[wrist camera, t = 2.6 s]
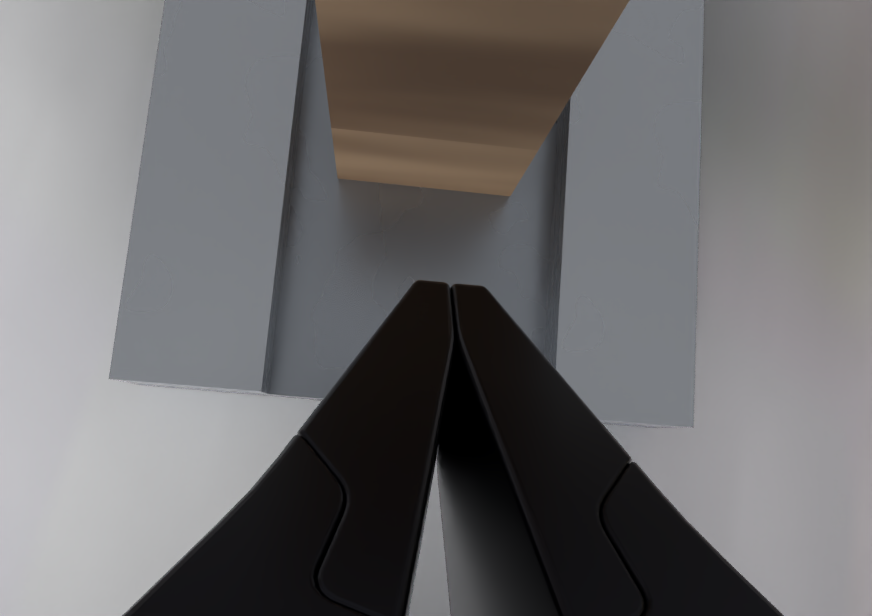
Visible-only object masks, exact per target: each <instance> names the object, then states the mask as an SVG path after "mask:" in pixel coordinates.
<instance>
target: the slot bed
mask: <svg viewBox="0 0 872 616" xmlns="http://www.w3.org/2000/svg"><path fill="white" fill-rule="evenodd" d="M703 32H704V0H629V2H628V4H627V5H626V7H625V9H624V10H623V12H622V14H621V15H620V17H619V18H618V20H617V22H616V23H615V25H614V27H613V28H612V30H611V32H610V33H609V35H608V37H607V38H606V40H605V41H604V43H603V45H602V46H601V48H600V50H599V51H598V53H597V55H596V56H595V58H594V60H593V61H592V63H591V65H590V66H589V68H588V69H587V71H586V73H585V74H584V76H583V78H582V79H581V81H580V83H579V84H578V86H577V88H576V89H575V91H574V92H573V94H572V96H571V97H570V99H569V101H568V102H567V104H566V106H565V107H564V109H563V111H562V112H561V114H560V115H559V117H558V119H557V120H556V122H555V124H554V125H553V127H552V129H551V130H550V132H549V134H548V135H547V137H546V138H545V140H544V142H543V143H542V145H541V147H540V148H539V150H538V152H537V153H536V155H535V157H534V158H533V160H532V161H531V163H530V165H529V166H528V168H527V170H526V171H525V173H524V175H523V176H522V178H521V180H520V181H519V183H518V184H517V186H516V188H515V189H514V191H513V193H512V194H511V196H502V195H492V194H483V193H473V192H463V191H454V190H444V189H434V188H425V187H415V186H406V185H396V184H386V183H377V182H367V181H357V180H348V179H338V178H337V170H336V162H335V154H334V146H333V138H332V130H331V122H330V114H329V107H328V99H327V91H326V83H325V75H324V67H323V59H322V51H321V43H320V36H319V28H318V20H317V12H316V4H315V0H165V3H164V10H163V16H162V23H161V30H160V37H159V43H158V50H157V57H156V64H155V70H154V77H153V84H152V91H151V97H150V104H149V111H148V118H147V124H146V131H145V138H144V145H143V152H142V158H141V165H140V172H139V179H138V185H137V192H136V199H135V206H134V212H133V219H132V226H131V233H130V239H129V246H128V253H127V260H126V266H125V273H124V280H123V287H122V293H121V300H120V307H119V314H118V320H117V327H116V334H115V341H114V347H113V354H112V361H111V368H110V374H109V379H113V380H118V381H123V382H128V383H134V384H139V385H148V386H160V387H172V388H185V389H197V390H209V391H221V392H233V393H245V394H257V395H269V396H281V397H293V398H305V399H317V400H323V399H324V398H325V396H326V395H327V394H328V392H329V391H330V390H331V389H332V387H333V386H334V385H335V383H336V382H337V381H338V380H339V378H340V377H341V376H342V374H343V373H344V372H345V371H346V369H347V368H348V367H349V365H350V364H351V363H352V362H353V360H354V359H355V358H356V356H357V355H358V354H359V353H360V351H361V350H362V349H363V347H364V346H365V345H366V344H367V342H368V341H369V340H370V338H371V337H372V336H373V335H374V333H375V332H376V331H377V329H378V328H379V327H380V325H381V324H382V323H383V322H384V320H385V319H386V318H387V316H388V315H389V314H390V313H391V311H392V310H393V309H394V307H395V306H396V305H397V304H398V302H399V301H400V300H401V298H402V297H403V296H404V295H405V293H406V292H407V291H408V289H409V288H410V287H411V286H412V284H413V283H414V282H415V281H417V280H427V281H437V282H445V283H447V284H449V286H450V288H451V286H452V285H453V284H469V285H480V286H484V287H486V288H487V289H488V290H489V291H490V292H491V294H492V295H493V296H494V297H495V298H496V299H497V301H498V302H499V303H500V304H501V305H502V307H503V308H504V309H505V310H506V311H507V312H508V314H509V315H510V316H511V317H512V318H513V319H514V321H515V322H516V323H517V324H518V325H519V326H520V328H521V329H522V330H523V331H524V332H525V334H526V335H527V336H528V337H529V338H530V339H531V341H532V342H533V343H534V344H535V345H536V346H537V348H538V349H539V350H540V351H541V352H542V353H543V355H544V356H545V357H546V358H547V359H548V361H549V362H550V363H551V364H552V365H553V366H554V368H555V369H556V370H557V371H558V372H559V373H560V375H561V376H562V377H563V378H564V379H565V381H566V382H567V383H568V384H569V385H570V386H571V388H572V389H573V390H574V391H575V392H576V393H577V395H578V396H579V397H580V398H581V399H582V400H583V402H584V403H585V404H586V405H587V406H588V408H589V409H590V410H591V411H592V412H593V413H594V415H595V416H596V417H597V418H598V419H599V420H600V422H601V423H606V424H618V425H630V426H642V427H655V428H679V427H694V389H695V349H696V310H697V270H698V230H699V191H700V151H701V112H702V72H703Z"/></svg>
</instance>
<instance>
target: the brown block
mask: <svg viewBox="0 0 872 616" xmlns="http://www.w3.org/2000/svg"><path fill="white" fill-rule="evenodd" d="M628 2H629V0H315V4H316V12H317V20H318V28H319V36H320V43H321V51H322V59H323V67H324V75H325V83H326V91H327V99H328V107H329V114H330V122H331V130H332V138H333V146H334V154H335V162H336V170H337V178H338V179H348V180H357V181H367V182H377V183H386V184H396V185H406V186H415V187H425V188H434V189H444V190H454V191H463V192H473V193H483V194H492V195H502V196H511V194H512V193H513V191H514V189H515V188H516V186H517V184H518V183H519V181H520V180H521V178H522V176H523V175H524V173H525V171H526V170H527V168H528V166H529V165H530V163H531V161H532V160H533V158H534V157H535V155H536V153H537V152H538V150H539V148H540V147H541V145H542V143H543V142H544V140H545V138H546V137H547V135H548V134H549V132H550V130H551V129H552V127H553V125H554V124H555V122H556V120H557V119H558V117H559V115H560V114H561V112H562V111H563V109H564V107H565V106H566V104H567V102H568V101H569V99H570V97H571V96H572V94H573V92H574V91H575V89H576V88H577V86H578V84H579V83H580V81H581V79H582V78H583V76H584V74H585V73H586V71H587V69H588V68H589V66H590V65H591V63H592V61H593V60H594V58H595V56H596V55H597V53H598V51H599V50H600V48H601V46H602V45H603V43H604V41H605V40H606V38H607V37H608V35H609V33H610V32H611V30H612V28H613V27H614V25H615V23H616V22H617V20H618V18H619V17H620V15H621V14H622V12H623V10H624V9H625V7H626V5H627V4H628Z"/></svg>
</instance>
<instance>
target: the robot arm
mask: <svg viewBox="0 0 872 616" xmlns="http://www.w3.org/2000/svg"><path fill="white" fill-rule="evenodd" d="M436 456H437V473H438V486H439V497H440V507H441V518H442V528H443V539H444V549H445V559H446V570H447V580H448V591H449V601H450V612H451V616H784V615H783V614H781V613H780V612H779V611H778V610H777V609H776V608H775V607H774V606H773V605H772V604H771V603H770V602H769V601H768V600H767V599H766V598H765V597H764V596H763V595H762V594H761V593H760V592H759V591H758V590H757V589H756V588H755V587H753V586H752V585H751V584H750V583H749V582H748V581H747V580H746V579H745V578H744V577H743V576H742V575H741V574H740V573H739V572H738V571H737V570H736V569H735V568H734V567H733V566H732V565H731V564H730V563H729V562H728V561H726V560H725V559H724V558H723V557H722V556H721V555H720V553H719V552H718V551H717V550H716V549H715V548H714V547H713V546H712V545H711V544H710V543H709V542H708V541H707V540H706V539H705V538H704V537H703V536H702V535H701V534H700V533H699V532H698V531H697V530H696V529H695V528H694V527H693V526H692V525H691V524H690V523H689V522H688V521H687V520H686V519H685V518H684V517H683V516H682V515H681V514H680V512H679V511H678V510H677V509H676V508H675V507H674V506H673V505H672V504H671V502H670V501H669V500H668V499H667V498H666V497H665V496H664V495H663V494H662V492H661V491H660V490H659V489H658V488H657V487H656V486H655V485H654V483H653V482H652V481H651V480H650V479H649V478H648V476H647V475H646V474H645V473H644V472H643V471H642V469H641V468H640V467H639V466H638V465H637V464H636V463H635V462H631V457H630V456H629V455H628V453H627V452H626V451H625V450H624V449H623V447H622V446H621V445H620V444H619V443H618V442H617V440H616V439H615V438H614V437H613V436H612V435H611V433H610V432H609V431H608V430H607V429H606V427H605V426H604V425H603V424H602V423H601V422H600V420H599V419H598V418H597V417H596V416H595V415H594V413H593V412H592V411H591V410H590V409H589V408H588V406H587V405H586V404H585V403H584V402H583V400H582V399H581V398H580V397H579V396H578V395H577V393H576V392H575V391H574V390H573V389H572V388H571V386H570V385H569V384H568V383H567V382H566V381H565V379H564V378H563V377H562V376H561V375H560V373H559V372H558V371H557V370H556V369H555V368H554V366H553V365H552V364H551V363H550V362H549V361H548V359H547V358H546V357H545V356H544V355H543V353H542V352H541V351H540V350H539V349H538V348H537V346H536V345H535V344H534V343H533V342H532V341H531V339H530V338H529V337H528V336H527V335H526V334H525V332H524V331H523V330H522V329H521V328H520V326H519V325H518V324H517V323H516V322H515V321H514V319H513V318H512V317H511V316H510V315H509V314H508V312H507V311H506V310H505V309H504V308H503V307H502V305H501V304H500V303H499V302H498V301H497V299H496V298H495V297H494V296H493V295H492V294H491V292H490V291H489V290H488V289H487V288H486V287H484V286H480V285H469V284H453V285H452V286H451V288H450V286H449V284H447V283H445V282H437V281H427V280H417V281H415V282H414V283H413V284H412V286H411V287H410V288H409V289H408V291H407V292H406V293H405V295H404V296H403V297H402V298H401V300H400V301H399V302H398V304H397V305H396V306H395V307H394V309H393V310H392V311H391V313H390V314H389V315H388V316H387V318H386V319H385V320H384V322H383V323H382V324H381V325H380V327H379V328H378V329H377V331H376V332H375V333H374V335H373V336H372V337H371V338H370V340H369V341H368V342H367V344H366V345H365V346H364V347H363V349H362V350H361V351H360V353H359V354H358V355H357V356H356V358H355V359H354V360H353V362H352V363H351V364H350V365H349V367H348V368H347V369H346V371H345V372H344V373H343V374H342V376H341V377H340V378H339V380H338V381H337V382H336V383H335V385H334V386H333V387H332V389H331V390H330V391H329V392H328V394H327V395H326V396H325V398H324V399H323V400H322V401H321V403H320V404H319V405H318V407H317V408H316V409H315V410H314V412H313V413H312V414H311V416H310V417H309V418H308V419H307V421H306V422H305V423H304V425H303V426H302V427H301V428H300V430H299V431H298V434H297V435H296V436H294V437H293V438H292V440H291V441H290V442H289V443H288V445H287V446H286V447H285V449H284V450H283V451H282V452H281V454H280V455H279V456H278V458H277V459H276V460H275V461H274V462H273V464H272V465H271V466H270V467H269V468H268V469H267V471H266V472H265V473H264V474H263V475H262V477H261V478H260V479H259V480H258V481H257V483H256V484H255V485H254V486H253V487H252V488H251V490H250V491H249V492H248V493H247V494H246V495H245V496H244V497H243V498H242V499H241V500H240V501H239V502H238V503H237V504H236V505H235V506H234V507H233V508H232V509H231V510H230V511H229V512H228V513H227V514H226V515H225V516H224V517H223V518H222V519H221V520H220V521H219V522H218V524H217V525H216V526H214V527H213V528H212V529H211V530H210V531H209V532H208V533H207V534H206V535H205V536H204V537H203V538H202V539H201V540H200V541H199V542H198V543H197V544H196V545H195V546H194V547H193V548H192V549H191V550H190V551H189V552H188V553H187V554H186V555H185V556H183V557H182V558H181V559H180V560H179V561H178V562H177V563H176V564H175V565H174V566H173V567H172V568H171V569H170V570H169V571H168V572H167V573H166V574H165V575H164V576H163V577H162V578H161V579H160V580H159V581H158V582H157V583H156V584H155V585H154V586H152V587H151V588H150V589H149V590H148V591H147V592H146V593H145V594H144V595H143V596H142V597H141V598H140V599H139V600H138V601H137V602H136V603H135V604H134V605H133V606H132V607H131V608H130V609H129V610H128V611H127V612H126V613H125V614H123V615H122V616H408V614H409V608H410V603H411V597H412V592H413V586H414V580H415V575H416V569H417V563H418V558H419V552H420V547H421V541H422V535H423V530H424V524H425V518H426V513H427V507H428V502H429V496H430V490H431V485H432V479H433V473H434V467H435V461H436Z"/></svg>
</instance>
